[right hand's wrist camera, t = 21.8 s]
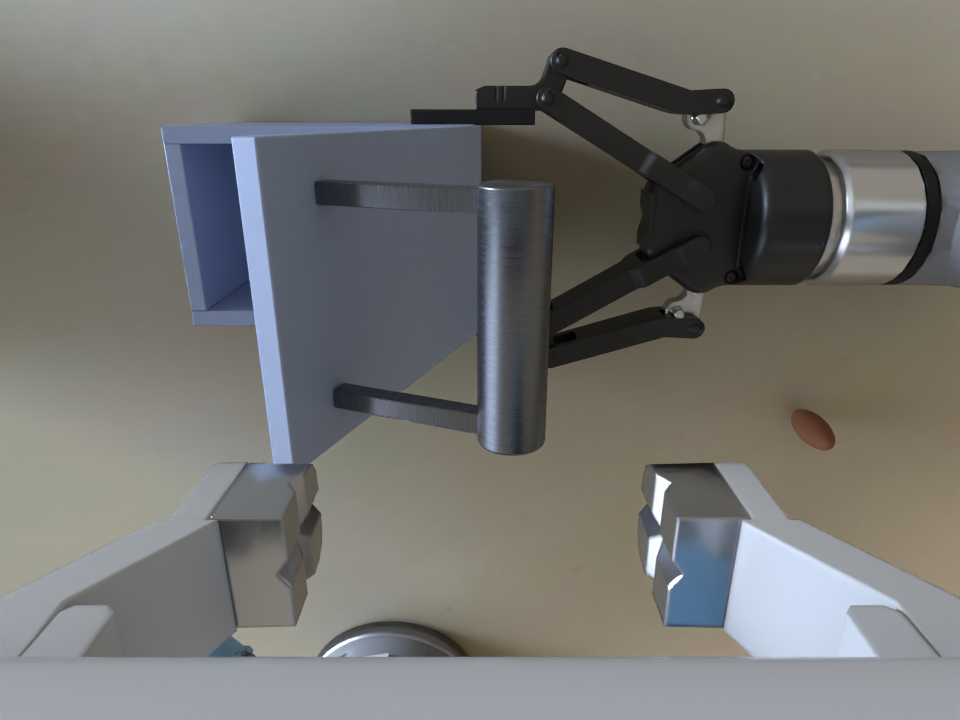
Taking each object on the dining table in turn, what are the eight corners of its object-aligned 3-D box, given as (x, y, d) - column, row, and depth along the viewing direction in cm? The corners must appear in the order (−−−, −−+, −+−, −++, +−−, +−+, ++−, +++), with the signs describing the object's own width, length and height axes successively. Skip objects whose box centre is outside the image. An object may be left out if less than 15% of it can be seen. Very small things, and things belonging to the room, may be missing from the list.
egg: (799, 396, 48) (833, 427, 44) (815, 413, 49) (850, 445, 44) (777, 414, 49) (808, 446, 44) (793, 430, 49) (826, 464, 45)
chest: (260, 276, 46) (193, 326, 35) (241, 122, 42) (159, 125, 31) (476, 276, 45) (474, 326, 35) (476, 122, 42) (473, 125, 31)
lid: (273, 470, 21) (514, 527, 18) (229, 136, 17) (522, 140, 14) (467, 328, 35) (620, 347, 32) (465, 125, 31) (638, 126, 28)
